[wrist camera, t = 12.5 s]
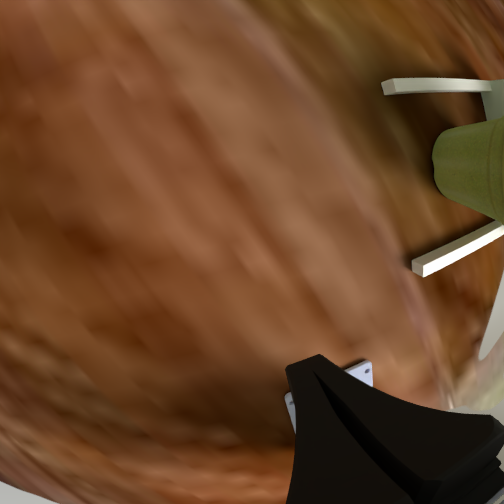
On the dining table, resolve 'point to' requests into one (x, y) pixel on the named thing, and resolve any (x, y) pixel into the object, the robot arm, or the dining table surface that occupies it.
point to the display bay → (496, 105)
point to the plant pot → (472, 166)
